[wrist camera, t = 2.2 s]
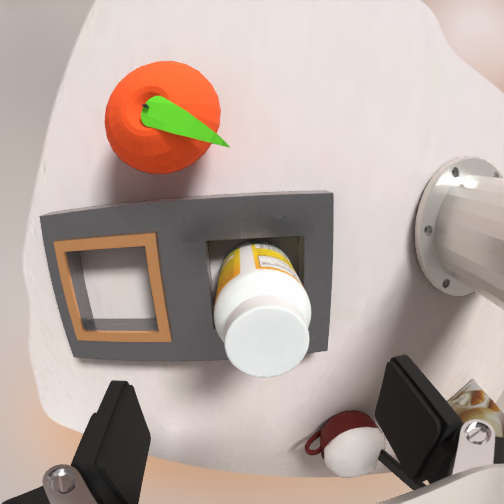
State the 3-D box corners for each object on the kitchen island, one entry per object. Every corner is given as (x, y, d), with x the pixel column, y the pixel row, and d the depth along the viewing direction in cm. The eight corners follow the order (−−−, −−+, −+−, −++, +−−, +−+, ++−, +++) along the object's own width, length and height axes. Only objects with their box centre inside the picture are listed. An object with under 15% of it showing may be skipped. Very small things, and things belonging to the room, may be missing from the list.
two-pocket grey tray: (324, 190, 22) (334, 193, 20) (321, 337, 25) (328, 352, 23) (52, 211, 21) (37, 216, 19) (82, 345, 24) (72, 359, 22)
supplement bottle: (281, 230, 22) (313, 276, 13) (298, 295, 24) (333, 370, 15) (208, 251, 23) (192, 311, 13) (231, 315, 24) (231, 398, 15)
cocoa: (296, 436, 29) (310, 530, 17) (320, 397, 27) (345, 500, 16) (370, 440, 30) (398, 520, 18) (397, 404, 28) (438, 488, 17)
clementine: (254, 107, 20) (263, 81, 13) (208, 195, 21) (197, 209, 15) (154, 65, 19) (123, 28, 12) (111, 150, 20) (63, 147, 13)
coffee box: (473, 376, 29) (545, 456, 13) (481, 396, 30) (541, 468, 15) (416, 424, 30) (472, 518, 14) (430, 440, 31) (479, 521, 16)
